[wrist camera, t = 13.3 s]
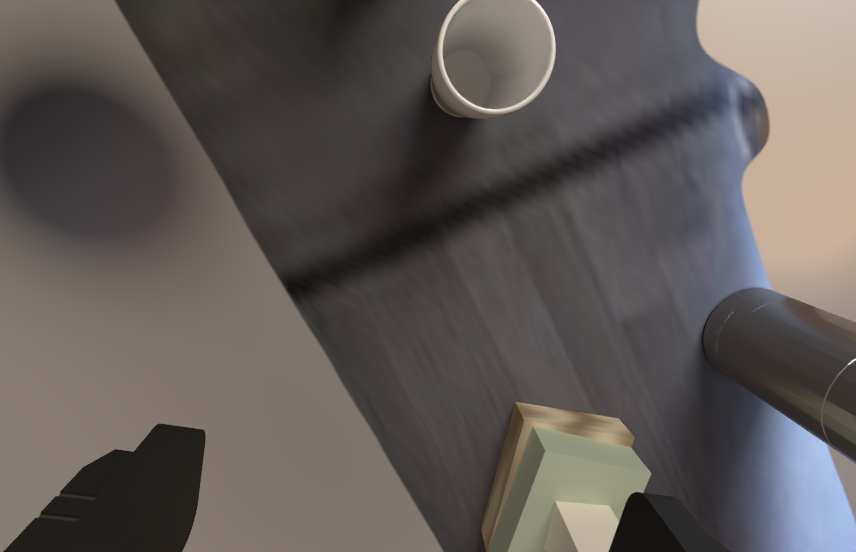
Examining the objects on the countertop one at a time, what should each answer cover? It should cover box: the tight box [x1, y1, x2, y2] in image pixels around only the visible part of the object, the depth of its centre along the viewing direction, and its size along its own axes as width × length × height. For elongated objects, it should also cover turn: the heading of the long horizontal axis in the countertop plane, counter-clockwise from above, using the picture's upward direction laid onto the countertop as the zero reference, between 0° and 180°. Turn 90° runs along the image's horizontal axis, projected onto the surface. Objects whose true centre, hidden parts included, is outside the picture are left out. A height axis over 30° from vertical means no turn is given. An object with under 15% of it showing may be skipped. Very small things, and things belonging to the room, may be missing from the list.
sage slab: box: [488, 426, 651, 552], centre depth 47 cm, size 10×14×4 cm
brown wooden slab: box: [481, 402, 635, 552], centre depth 51 cm, size 11×15×4 cm
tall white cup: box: [430, 0, 556, 120], centre depth 35 cm, size 7×7×15 cm
